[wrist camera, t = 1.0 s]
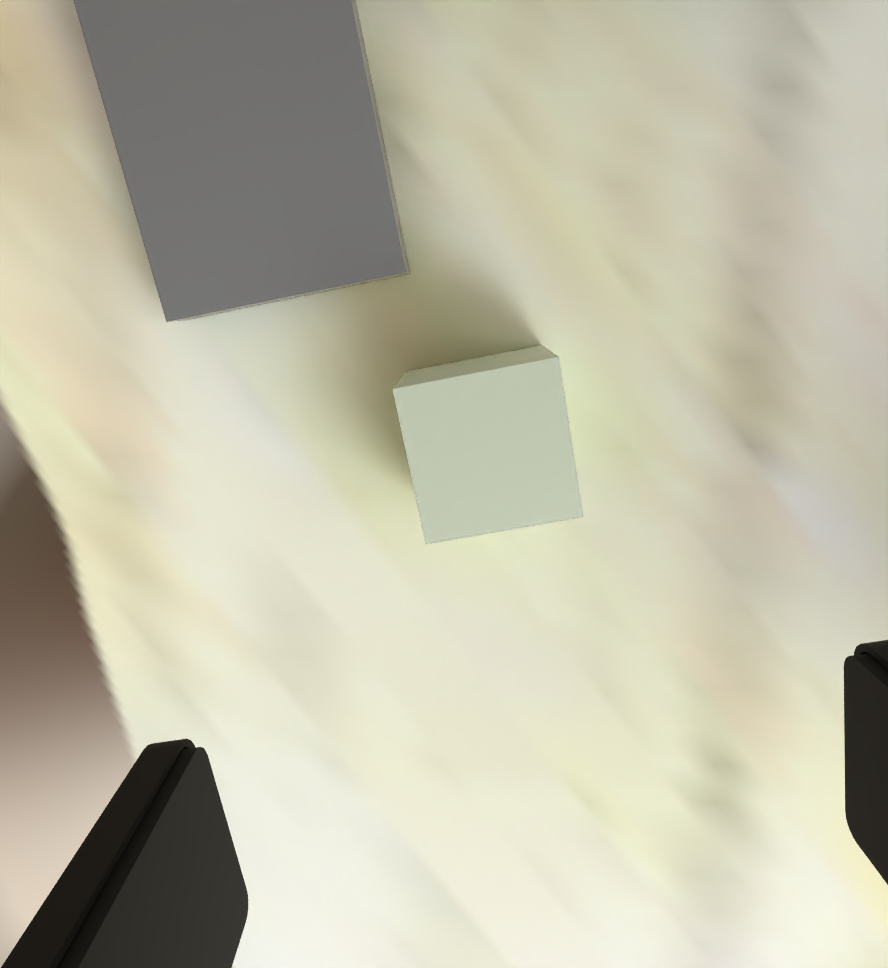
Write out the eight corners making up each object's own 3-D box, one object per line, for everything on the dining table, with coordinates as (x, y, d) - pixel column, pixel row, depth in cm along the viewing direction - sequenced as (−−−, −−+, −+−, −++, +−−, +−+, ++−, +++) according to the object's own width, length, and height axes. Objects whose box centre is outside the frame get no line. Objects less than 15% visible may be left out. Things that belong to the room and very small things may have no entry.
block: (541, 344, 31) (558, 356, 25) (562, 476, 32) (583, 516, 26) (406, 371, 31) (392, 389, 25) (433, 499, 33) (425, 544, 27)
